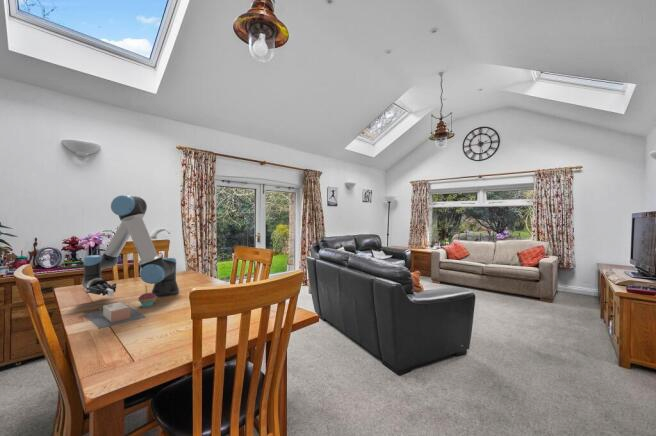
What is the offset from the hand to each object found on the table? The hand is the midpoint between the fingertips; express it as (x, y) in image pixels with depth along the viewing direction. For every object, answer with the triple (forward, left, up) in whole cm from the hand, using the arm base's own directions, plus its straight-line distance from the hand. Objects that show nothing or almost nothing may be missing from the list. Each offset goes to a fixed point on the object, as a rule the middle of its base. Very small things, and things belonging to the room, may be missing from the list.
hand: (111, 293), depth 134 cm
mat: (-1, +1, -11) cm, 11 cm away
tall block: (0, -2, -8) cm, 8 cm away
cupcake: (-13, -10, -11) cm, 20 cm away
